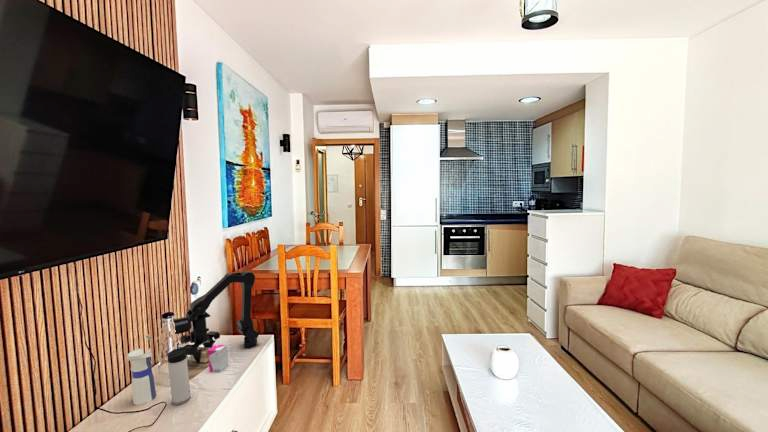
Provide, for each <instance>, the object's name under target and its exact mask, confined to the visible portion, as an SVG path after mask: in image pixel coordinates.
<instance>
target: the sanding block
mask: <svg viewBox="0 0 768 432" xmlns="http://www.w3.org/2000/svg"><path fill="white" fill-rule="evenodd" d="M199 349H200V350H201V357H200V363H205V364H206V363H207V362H209V358H208V350H209V349H210V348H206V347H204V346H203V347H202V346H199ZM190 359H191V362H196V360H195V359H194V357H193V355H190ZM196 363H197V362H196Z"/></svg>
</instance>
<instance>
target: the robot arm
mask: <svg viewBox="0 0 768 432" xmlns="http://www.w3.org/2000/svg"><path fill="white" fill-rule="evenodd" d="M255 280H256V276H255V273H253V272H252V271H249V270H242V271H241V272H238V271H237V272H232V273H231V272H229V273H226V274H225V275H224V276H223V277H222V278H221V279H220V280H219V281H218V282H217V283H215V285H213V286H212V287H211V288H210V289H209V290H208V291H207V292H206V293H205V294H203V295H202V296H198V298H196V299H195V300H193V301H192V302H191V303H190V305H189V309H188V311H187V312H186V314H185V316H184V317H180V318H175V319H174V318H173V320H174V321H173V322H174V323H175V330H176V332H175V334H177V335H180V334H183V333H188V332H190V333H188V334H184V335H181V336H180V337H179V338H180V339H179V340H180V343H181V344H184V346H183V347H186V356H191V355H193V357H194V359H195V360H196V362H197V363H200V357H201V350H200V349H199V347H201V346H202V345H203V347H206V348H212V347H213V346H214V345H215V343H216V341H217V340H218V339H220V338H221V334H220V332H219V331H213V330H212V331H211V330H210V329H209V327H207V318H210V317H211V314H209V313H208V312H207V310H208V308H210V305H211V303H212V302H213V301H214V300H215V299H216V298H217V297H218V296H219V295H220V294H221V293H222V292H223V291H224V290H225V289H226V288H227V287H228V286H229V285H231V284H232V283H239V284H240V287H241V313H240V314H241V317H240V319H237V320H236V322H237V323H236V325H237V326H236V329H237V330H238V332H239V333H240V334H241V335H242V336H243V337H244V338H243V347H244V349H251V348H254V347H256V346H257V345H258V342H259V341H258V337H259V334H260V332H259V331H257V330H256V329H255V328H254V322H253V320H252V292H253V291H252V289H253V287H254V285H255V282H256V281H255ZM191 330H192V331H191ZM175 334H174V335H175ZM187 343H188V344H187ZM189 343H190V344H189ZM185 344H186V345H185Z"/></svg>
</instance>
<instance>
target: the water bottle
mask: <svg viewBox="0 0 768 432" xmlns="http://www.w3.org/2000/svg"><path fill="white" fill-rule="evenodd" d="M145 337H146V338H147V342H149V341H150V342H152V338H153V336H151V335H150V334H149V333H148V334H147V335H145ZM152 356H153V354H152V348H151V347H149V349H148V351H146V352H145V353H144V350H143V348H136V349H134V350H131V351H130V352H129V353H127V355H126V358H125V360H126V361H127V362H129V361H130V362H131V367H130V371H131V373H132V377H131V388H132V389H131V390H132V404H134V405H135V406H137V405H144V404H147V403H149V402H152V401H153V400H154V399H156V397H157V395H158V394H157V389H156V384H155V377H154V372H153V370H152V369H153V362H152V361H151V358H150V357H152Z"/></svg>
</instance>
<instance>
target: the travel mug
mask: <svg viewBox="0 0 768 432" xmlns="http://www.w3.org/2000/svg"><path fill="white" fill-rule="evenodd" d="M187 356H188V355H186V347H184V346H181V347H179V348H175V349H173V350H170V351H169V352H168V353H167V365H168V373H169V378H168V379H169V385H170V387H169V388H170V394H171V395H170V396H171V404H173V405H175V406H180V405H183V404H185V403H187V402H189V400H190V399H191V398H192V397H191V389H190V388H191V387H190V380H189V376H188V366H187V361H188V357H187Z"/></svg>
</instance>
